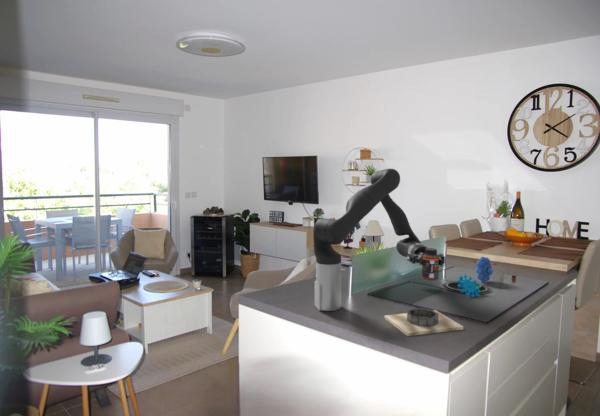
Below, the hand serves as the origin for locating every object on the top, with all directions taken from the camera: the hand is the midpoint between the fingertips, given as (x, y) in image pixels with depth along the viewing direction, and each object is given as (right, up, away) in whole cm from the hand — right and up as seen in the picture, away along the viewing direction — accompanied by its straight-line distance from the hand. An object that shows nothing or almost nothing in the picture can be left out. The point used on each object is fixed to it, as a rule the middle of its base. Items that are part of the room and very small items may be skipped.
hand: (432, 263), depth 156 cm
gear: (+20, -16, +18) cm, 31 cm away
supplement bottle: (0, -6, +3) cm, 7 cm away
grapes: (+34, -14, +35) cm, 51 cm away
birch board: (-8, -19, -13) cm, 24 cm away
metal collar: (-8, -19, -13) cm, 24 cm away
